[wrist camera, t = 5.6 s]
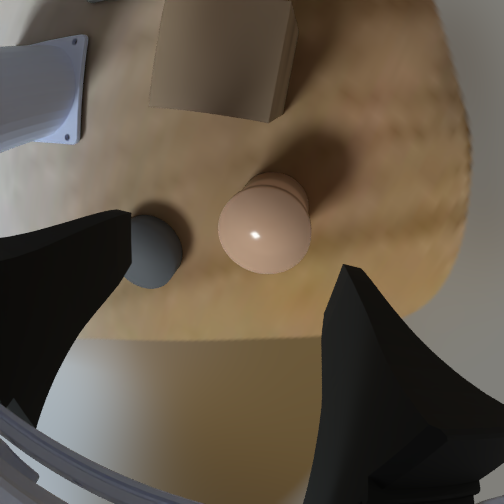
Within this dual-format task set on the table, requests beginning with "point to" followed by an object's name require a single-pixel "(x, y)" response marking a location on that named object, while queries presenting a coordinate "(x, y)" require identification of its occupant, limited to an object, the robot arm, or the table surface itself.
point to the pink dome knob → (266, 224)
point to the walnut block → (225, 57)
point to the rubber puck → (153, 252)
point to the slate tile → (93, 0)
